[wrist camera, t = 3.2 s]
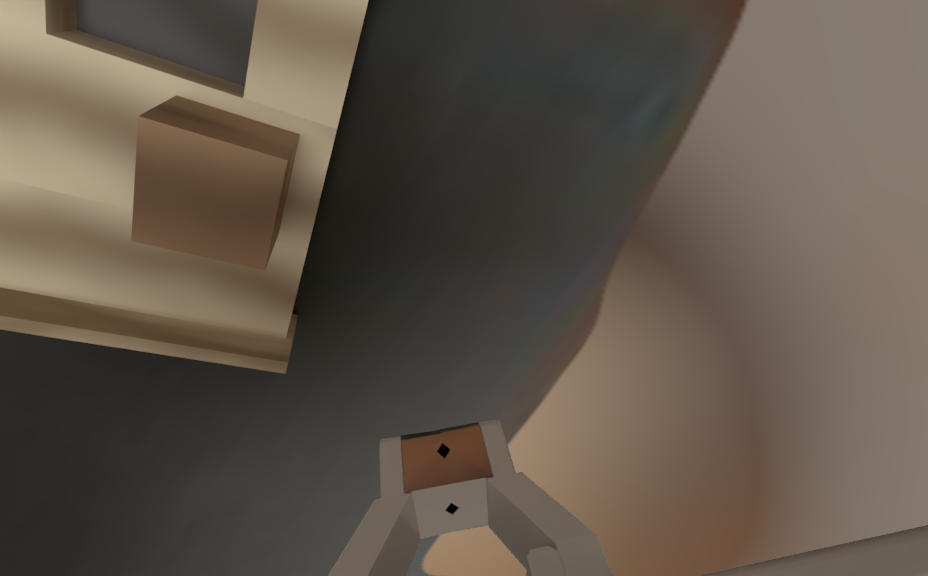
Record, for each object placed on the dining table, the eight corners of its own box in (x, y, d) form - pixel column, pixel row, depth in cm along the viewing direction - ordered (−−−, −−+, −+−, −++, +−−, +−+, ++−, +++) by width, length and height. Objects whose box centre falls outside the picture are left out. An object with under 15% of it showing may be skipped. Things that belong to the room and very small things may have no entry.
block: (279, 231, 24) (265, 270, 20) (166, 203, 22) (131, 241, 19) (299, 134, 22) (287, 160, 18) (176, 95, 20) (138, 116, 17)
